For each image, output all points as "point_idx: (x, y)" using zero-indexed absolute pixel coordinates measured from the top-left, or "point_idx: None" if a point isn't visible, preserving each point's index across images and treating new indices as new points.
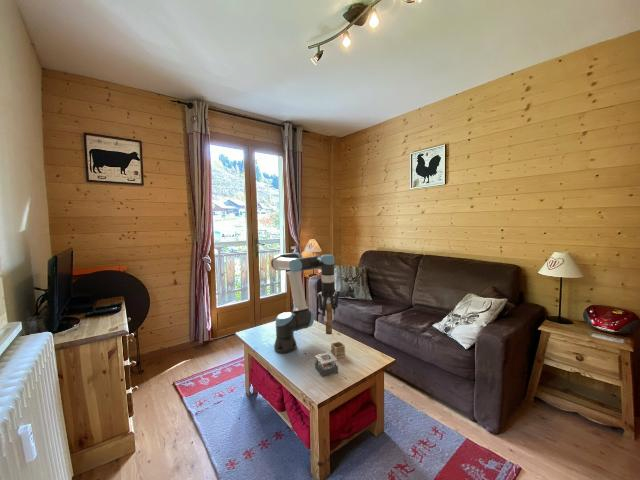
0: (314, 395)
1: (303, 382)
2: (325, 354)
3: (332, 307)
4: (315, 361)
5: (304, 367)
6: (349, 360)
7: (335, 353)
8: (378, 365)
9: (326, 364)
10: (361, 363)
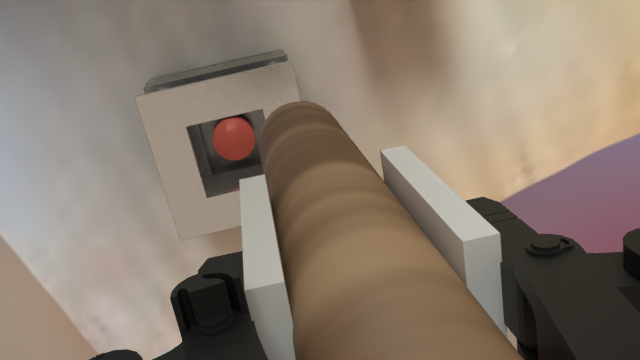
0: (120, 348)
1: (53, 227)
2: (239, 102)
3: (527, 324)
4: (148, 87)
5: (63, 47)
6: (440, 33)
7: None
8: (599, 142)
9: (234, 151)
10: (506, 94)
